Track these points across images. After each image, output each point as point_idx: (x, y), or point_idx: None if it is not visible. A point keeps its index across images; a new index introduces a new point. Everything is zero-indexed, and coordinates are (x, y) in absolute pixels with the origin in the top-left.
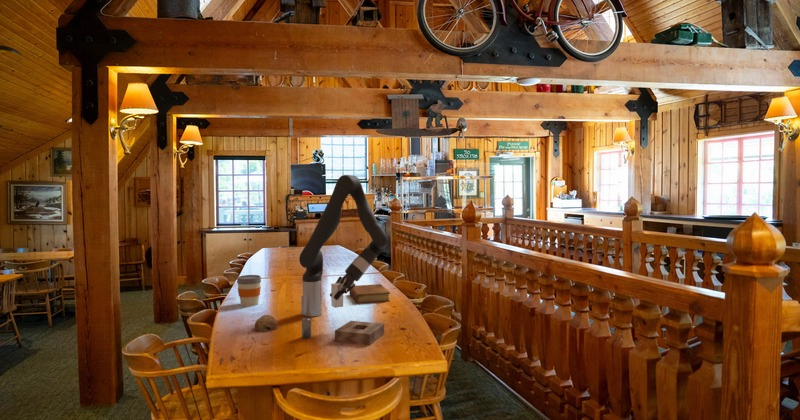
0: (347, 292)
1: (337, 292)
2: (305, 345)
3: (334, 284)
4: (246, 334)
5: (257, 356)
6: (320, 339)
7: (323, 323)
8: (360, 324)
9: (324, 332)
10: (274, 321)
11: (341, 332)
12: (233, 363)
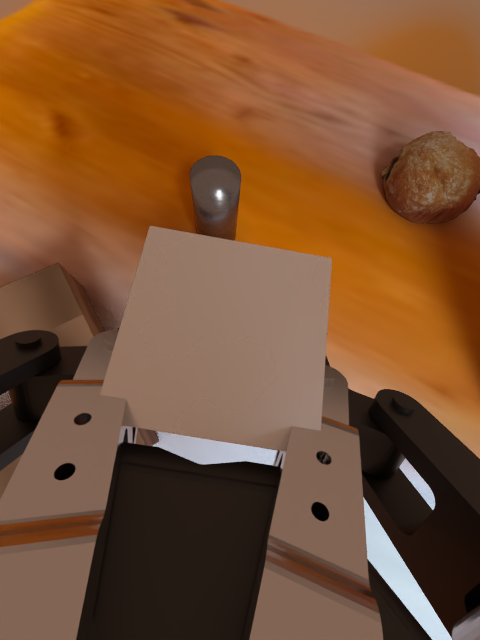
0: (9, 420)
1: None
2: (131, 184)
3: (230, 267)
4: (381, 122)
5: (152, 55)
6: None
7: None
8: None
9: None
10: (410, 181)
11: (21, 282)
12: (148, 6)
